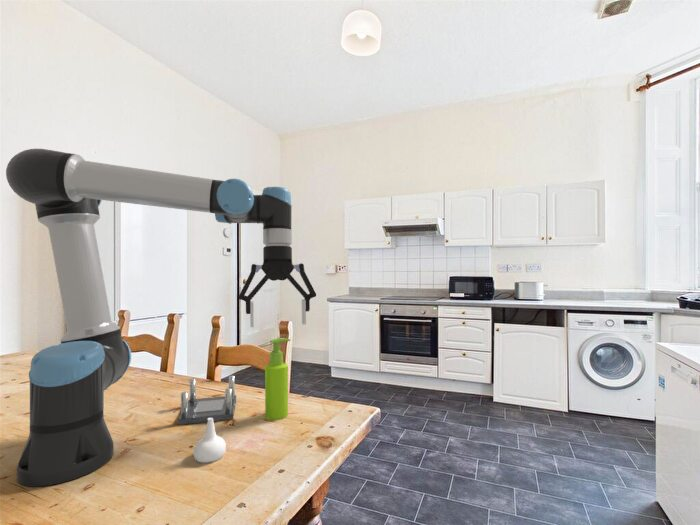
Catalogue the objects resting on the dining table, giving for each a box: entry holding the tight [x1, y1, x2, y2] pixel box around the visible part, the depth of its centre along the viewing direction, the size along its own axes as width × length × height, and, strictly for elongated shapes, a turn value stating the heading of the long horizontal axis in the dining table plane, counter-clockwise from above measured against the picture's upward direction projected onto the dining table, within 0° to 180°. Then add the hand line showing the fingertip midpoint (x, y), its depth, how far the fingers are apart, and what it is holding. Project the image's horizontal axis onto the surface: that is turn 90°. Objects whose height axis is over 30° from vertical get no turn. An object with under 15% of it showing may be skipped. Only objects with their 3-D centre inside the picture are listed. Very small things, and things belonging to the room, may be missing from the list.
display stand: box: [177, 375, 237, 426], centre depth 98 cm, size 14×13×8 cm
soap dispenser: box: [264, 337, 291, 421], centre depth 96 cm, size 6×7×20 cm
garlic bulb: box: [192, 418, 227, 464], centre depth 75 cm, size 6×6×8 cm
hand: (278, 325), depth 96 cm, fingers open, 13 cm apart
